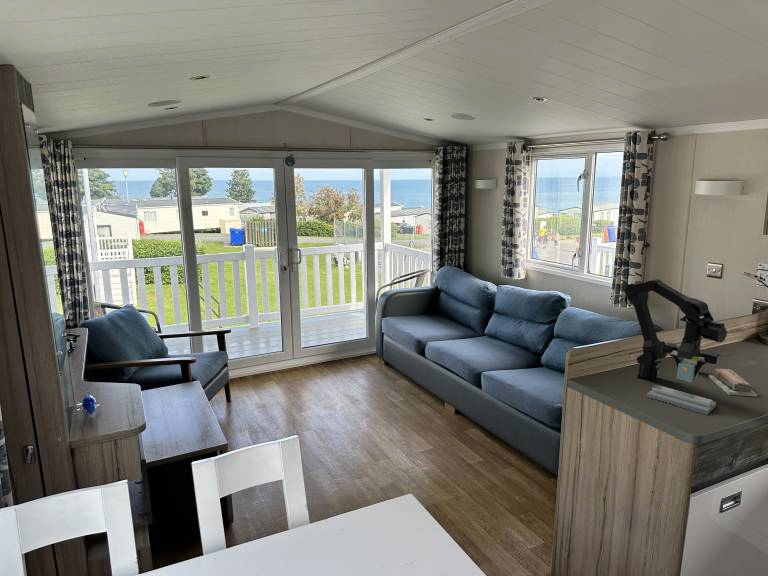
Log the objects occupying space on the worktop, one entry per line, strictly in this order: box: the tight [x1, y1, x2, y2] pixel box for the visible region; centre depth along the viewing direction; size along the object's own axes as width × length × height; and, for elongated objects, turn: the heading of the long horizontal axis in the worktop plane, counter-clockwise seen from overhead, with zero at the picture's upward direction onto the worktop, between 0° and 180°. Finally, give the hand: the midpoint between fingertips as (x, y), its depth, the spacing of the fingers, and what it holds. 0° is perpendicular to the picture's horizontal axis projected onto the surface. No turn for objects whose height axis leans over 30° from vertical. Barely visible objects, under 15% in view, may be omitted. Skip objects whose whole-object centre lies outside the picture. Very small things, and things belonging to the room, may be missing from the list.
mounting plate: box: [646, 389, 717, 415], centre depth 194 cm, size 20×10×2 cm, turn 44°
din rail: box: [651, 384, 714, 407], centre depth 194 cm, size 19×4×2 cm, turn 44°
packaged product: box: [708, 368, 758, 397], centre depth 208 cm, size 18×5×10 cm
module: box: [676, 358, 699, 383], centre depth 201 cm, size 5×8×6 cm, turn 134°
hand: (687, 374), depth 202 cm, fingers closed on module, 5 cm apart
